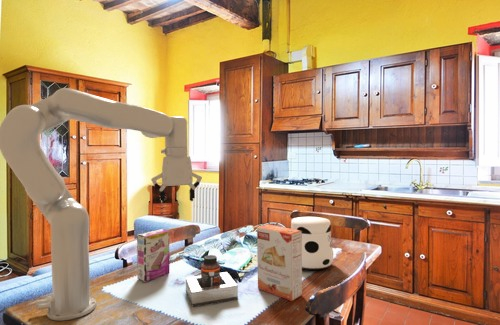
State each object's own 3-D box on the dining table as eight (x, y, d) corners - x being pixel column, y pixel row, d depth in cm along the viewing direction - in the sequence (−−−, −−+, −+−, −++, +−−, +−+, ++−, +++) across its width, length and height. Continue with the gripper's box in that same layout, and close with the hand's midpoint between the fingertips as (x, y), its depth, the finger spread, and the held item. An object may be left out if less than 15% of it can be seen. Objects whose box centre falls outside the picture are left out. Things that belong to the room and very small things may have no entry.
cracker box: (256, 289, 108) (255, 226, 107) (268, 283, 113) (267, 223, 112) (291, 302, 99) (290, 233, 98) (302, 295, 103) (302, 229, 102)
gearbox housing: (192, 307, 96) (192, 292, 96) (186, 291, 108) (185, 277, 107) (237, 299, 101) (237, 285, 101) (227, 284, 112) (227, 271, 112)
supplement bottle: (217, 297, 101) (216, 260, 100) (198, 295, 102) (197, 259, 101) (222, 288, 107) (221, 254, 106) (204, 287, 108) (204, 253, 107)
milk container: (341, 264, 130) (341, 219, 130) (318, 277, 118) (317, 227, 117) (304, 255, 142) (304, 214, 142) (280, 266, 130) (279, 220, 129)
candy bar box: (145, 283, 115) (144, 236, 114) (137, 280, 117) (135, 234, 117) (170, 273, 124) (169, 230, 123) (162, 270, 127) (161, 228, 126)
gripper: (151, 153, 108) (152, 204, 108) (203, 152, 113) (204, 201, 114) (150, 152, 115) (151, 201, 115) (199, 152, 120) (200, 198, 121)
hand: (177, 201), depth 115 cm, fingers open, 9 cm apart
